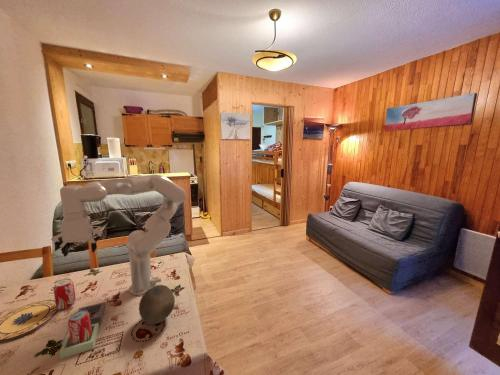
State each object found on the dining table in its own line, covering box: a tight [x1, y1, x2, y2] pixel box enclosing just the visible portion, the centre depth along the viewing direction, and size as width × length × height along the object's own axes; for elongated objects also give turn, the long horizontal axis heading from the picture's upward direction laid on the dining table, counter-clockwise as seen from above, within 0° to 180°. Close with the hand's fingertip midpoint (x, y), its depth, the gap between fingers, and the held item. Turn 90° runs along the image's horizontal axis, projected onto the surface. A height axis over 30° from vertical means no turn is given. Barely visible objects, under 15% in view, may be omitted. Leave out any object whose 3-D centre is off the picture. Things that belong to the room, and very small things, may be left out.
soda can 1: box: [53, 278, 77, 310], centre depth 98 cm, size 7×7×12 cm
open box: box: [59, 302, 106, 360], centre depth 86 cm, size 10×22×3 cm, turn 25°
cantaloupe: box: [138, 284, 176, 325], centre depth 90 cm, size 14×14×15 cm
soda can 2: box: [67, 310, 92, 346], centre depth 79 cm, size 6×6×12 cm
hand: (80, 252), depth 91 cm, fingers open, 9 cm apart
